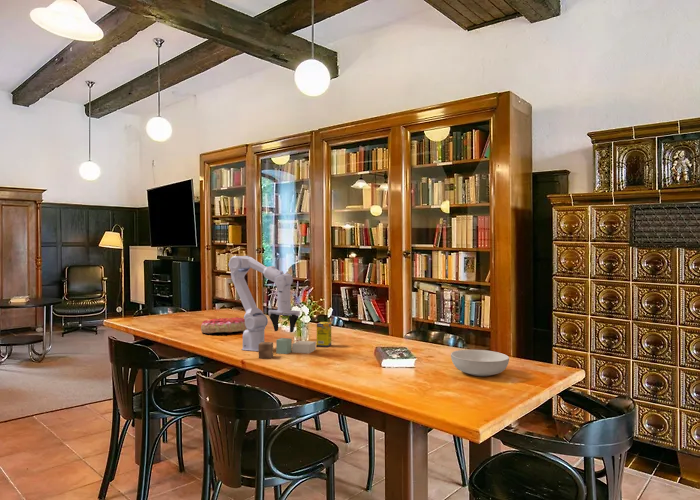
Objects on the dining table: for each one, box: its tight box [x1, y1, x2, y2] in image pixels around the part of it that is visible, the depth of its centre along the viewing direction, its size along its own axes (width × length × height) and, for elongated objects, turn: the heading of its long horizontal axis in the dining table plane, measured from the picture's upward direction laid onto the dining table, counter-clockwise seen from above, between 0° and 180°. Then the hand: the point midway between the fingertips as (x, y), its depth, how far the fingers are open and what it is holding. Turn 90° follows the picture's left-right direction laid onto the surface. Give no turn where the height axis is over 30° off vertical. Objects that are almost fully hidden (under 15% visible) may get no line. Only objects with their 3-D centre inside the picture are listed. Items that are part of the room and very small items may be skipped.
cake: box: [200, 316, 248, 335], centre depth 277 cm, size 25×25×8 cm
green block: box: [275, 337, 293, 355], centre depth 222 cm, size 5×5×6 cm
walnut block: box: [258, 341, 274, 360], centre depth 213 cm, size 5×5×6 cm
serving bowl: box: [450, 349, 510, 377], centre depth 186 cm, size 21×21×7 cm
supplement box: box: [316, 321, 332, 348], centre depth 237 cm, size 6×6×11 cm
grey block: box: [291, 340, 317, 354], centre depth 225 cm, size 8×8×4 cm
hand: (284, 331), depth 222 cm, fingers open, 7 cm apart
